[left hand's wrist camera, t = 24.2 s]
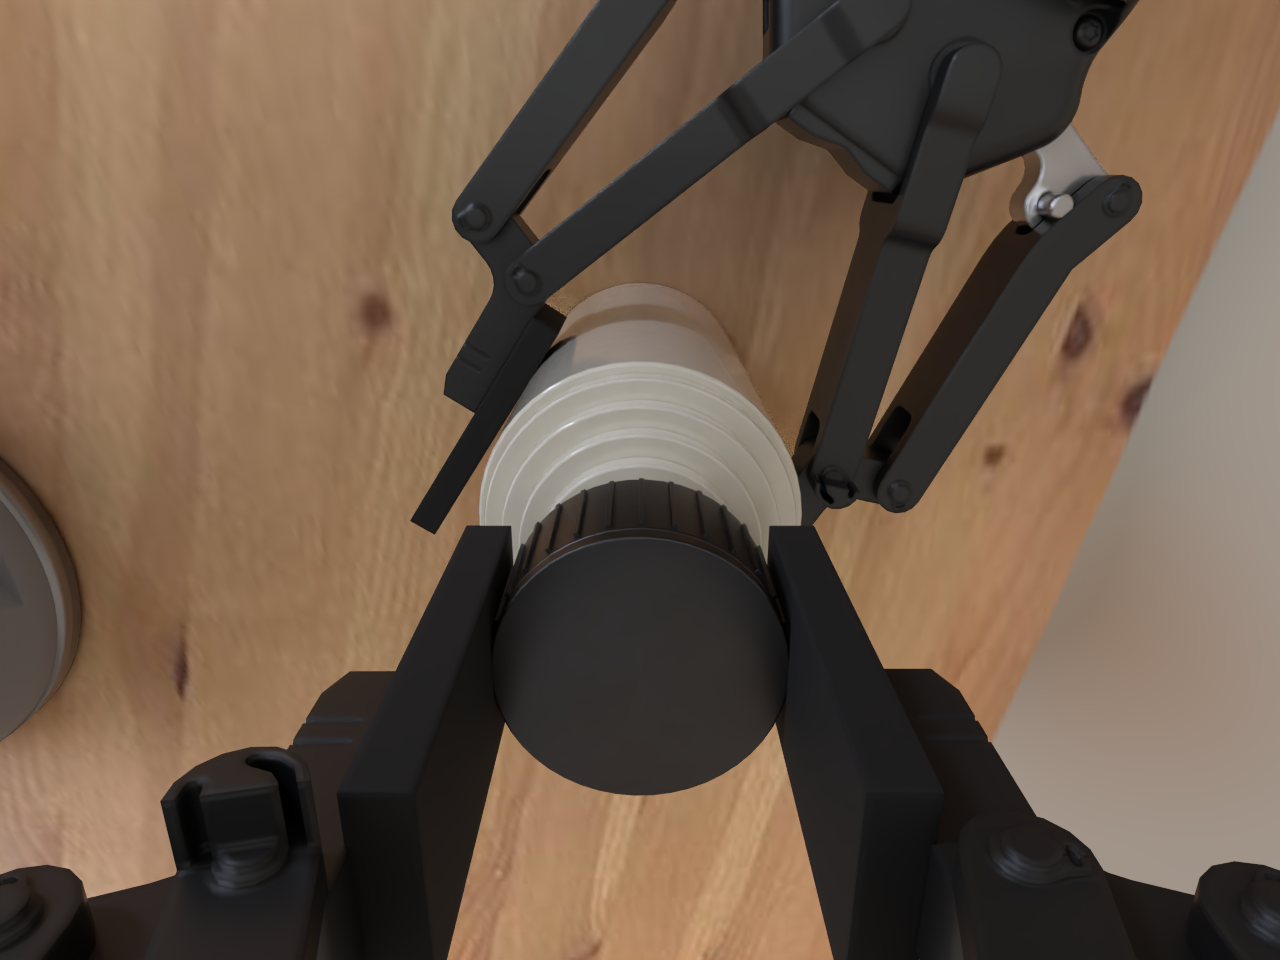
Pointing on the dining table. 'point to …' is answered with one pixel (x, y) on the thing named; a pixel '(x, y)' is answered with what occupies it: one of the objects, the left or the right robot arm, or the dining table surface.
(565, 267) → the right robot arm
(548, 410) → the bottle
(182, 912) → the left robot arm
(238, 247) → the dining table surface
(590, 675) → the cap
